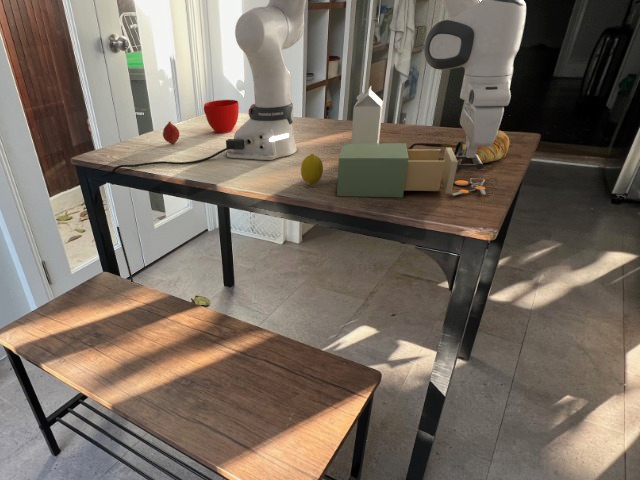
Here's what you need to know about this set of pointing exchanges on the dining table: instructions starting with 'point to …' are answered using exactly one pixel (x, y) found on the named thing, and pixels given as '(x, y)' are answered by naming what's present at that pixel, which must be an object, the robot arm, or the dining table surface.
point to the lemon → (311, 169)
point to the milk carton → (367, 118)
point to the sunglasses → (459, 147)
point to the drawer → (434, 169)
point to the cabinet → (372, 170)
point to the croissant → (494, 149)
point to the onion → (171, 133)
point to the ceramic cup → (222, 115)
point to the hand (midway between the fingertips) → (469, 156)
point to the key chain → (474, 185)
